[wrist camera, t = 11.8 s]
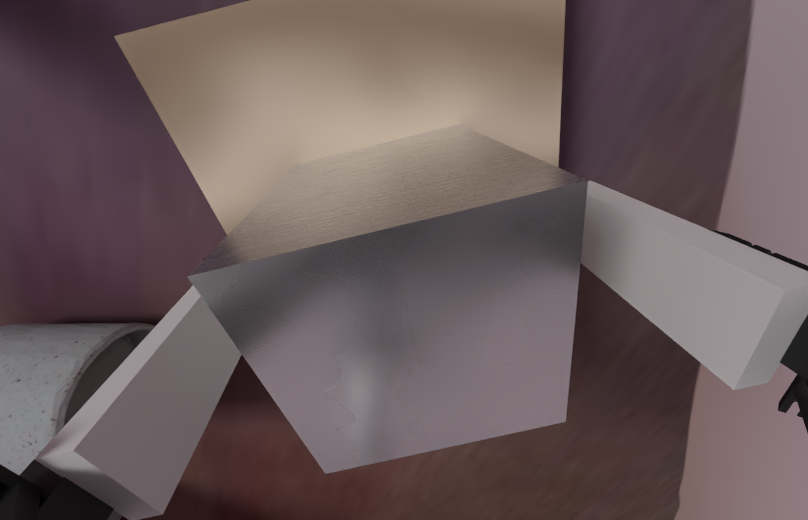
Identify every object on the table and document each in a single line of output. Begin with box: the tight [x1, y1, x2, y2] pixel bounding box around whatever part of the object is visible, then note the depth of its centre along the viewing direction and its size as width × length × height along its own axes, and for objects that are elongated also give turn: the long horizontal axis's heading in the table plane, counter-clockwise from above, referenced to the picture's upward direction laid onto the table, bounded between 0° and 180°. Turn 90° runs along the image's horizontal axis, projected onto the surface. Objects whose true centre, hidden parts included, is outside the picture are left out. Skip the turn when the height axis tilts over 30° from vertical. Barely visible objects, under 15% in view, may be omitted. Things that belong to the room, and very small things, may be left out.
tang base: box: [114, 0, 566, 235], centre depth 13 cm, size 18×16×8 cm
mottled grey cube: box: [187, 124, 588, 474], centre depth 11 cm, size 7×7×9 cm
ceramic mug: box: [0, 323, 155, 475], centre depth 17 cm, size 11×8×8 cm
